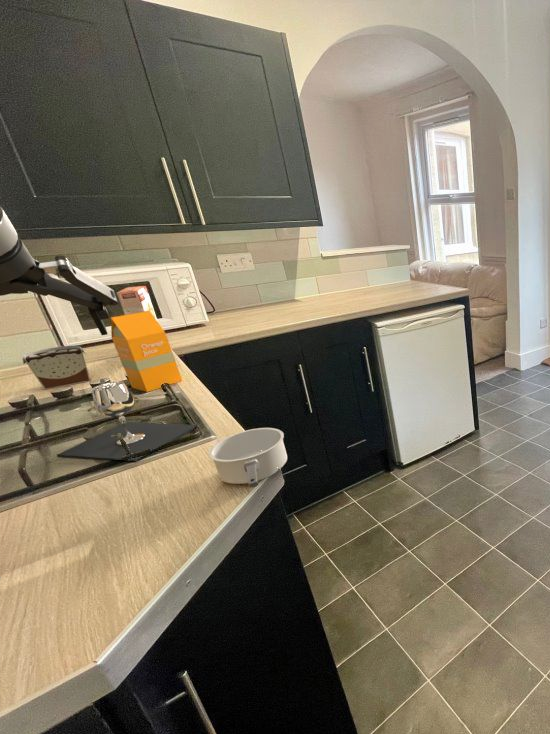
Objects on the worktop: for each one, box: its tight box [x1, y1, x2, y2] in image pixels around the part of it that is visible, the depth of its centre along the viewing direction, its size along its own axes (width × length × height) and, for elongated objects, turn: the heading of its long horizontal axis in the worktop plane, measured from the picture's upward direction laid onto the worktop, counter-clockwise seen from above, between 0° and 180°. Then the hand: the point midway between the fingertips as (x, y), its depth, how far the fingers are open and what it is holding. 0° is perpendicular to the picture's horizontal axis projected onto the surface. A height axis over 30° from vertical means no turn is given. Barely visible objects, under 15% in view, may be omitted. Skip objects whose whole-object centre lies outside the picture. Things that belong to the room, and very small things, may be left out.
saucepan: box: [208, 427, 288, 488], centre depth 71 cm, size 12×20×6 cm, turn 33°
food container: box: [22, 345, 92, 391], centre depth 118 cm, size 12×6×10 cm, turn 130°
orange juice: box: [110, 310, 183, 393], centre depth 113 cm, size 8×9×20 cm
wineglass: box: [91, 381, 145, 445], centre depth 84 cm, size 6×6×12 cm
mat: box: [56, 421, 198, 462], centre depth 87 cm, size 18×14×1 cm
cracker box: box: [116, 285, 159, 323], centre depth 149 cm, size 14×6×21 cm, turn 30°
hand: (45, 336), depth 67 cm, fingers open, 13 cm apart
